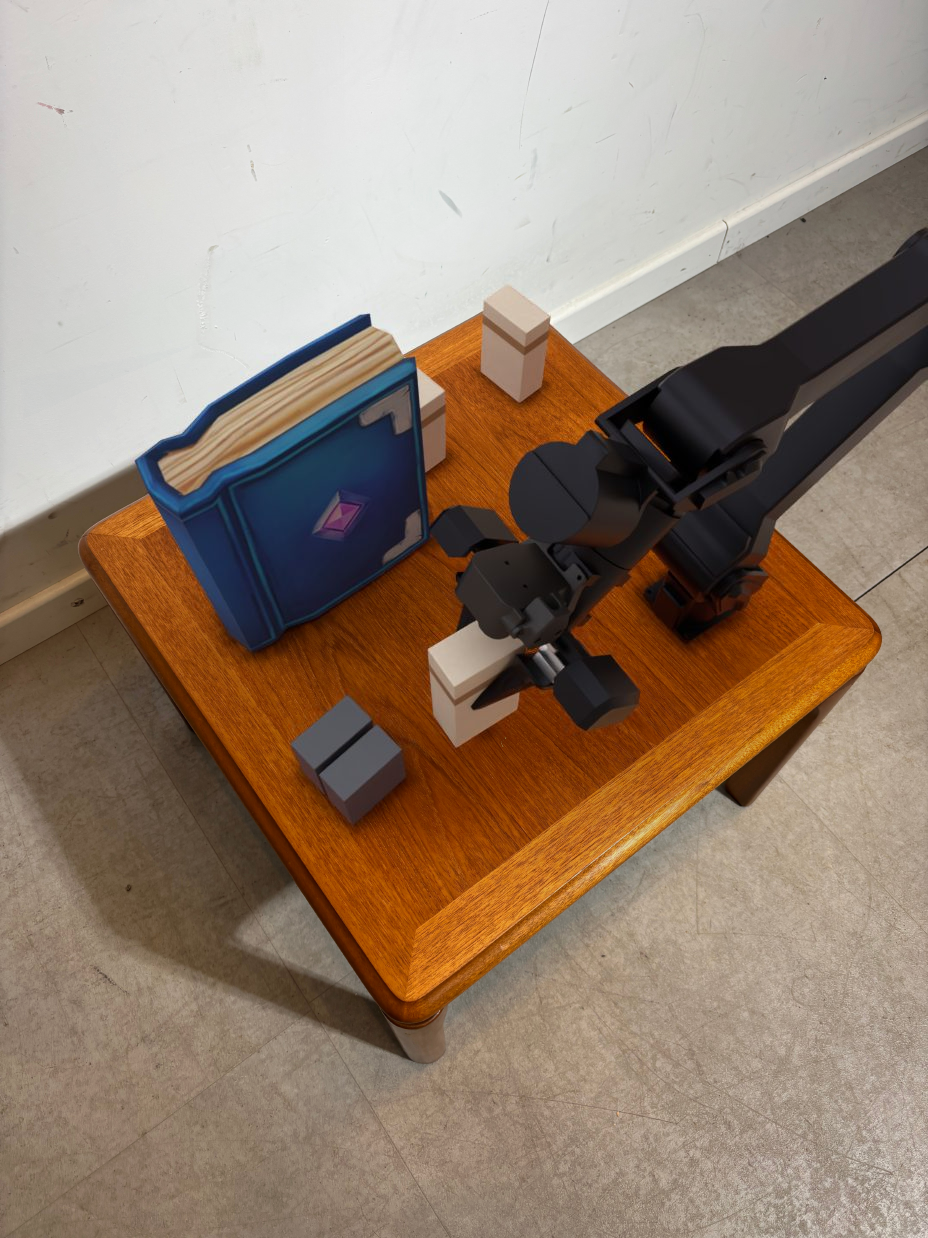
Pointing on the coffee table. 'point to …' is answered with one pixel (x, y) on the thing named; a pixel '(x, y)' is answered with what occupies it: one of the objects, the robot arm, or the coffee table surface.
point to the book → (298, 482)
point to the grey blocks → (350, 759)
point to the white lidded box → (469, 680)
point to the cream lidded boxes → (493, 362)
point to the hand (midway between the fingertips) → (460, 688)
